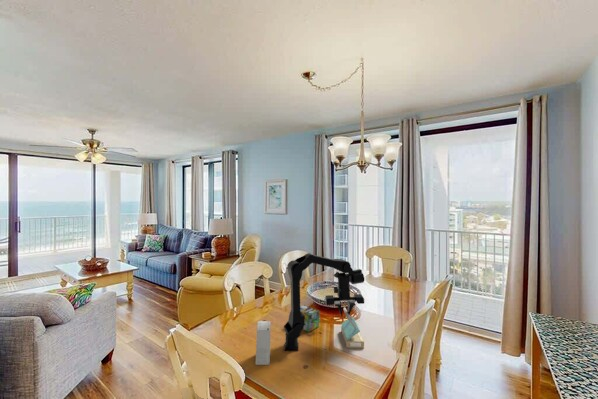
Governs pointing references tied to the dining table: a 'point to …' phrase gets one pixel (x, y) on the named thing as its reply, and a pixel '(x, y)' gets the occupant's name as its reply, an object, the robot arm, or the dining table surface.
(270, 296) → the dining table surface
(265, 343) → the skincare box
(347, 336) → the lid flap
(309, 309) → the chalk box
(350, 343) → the carton
